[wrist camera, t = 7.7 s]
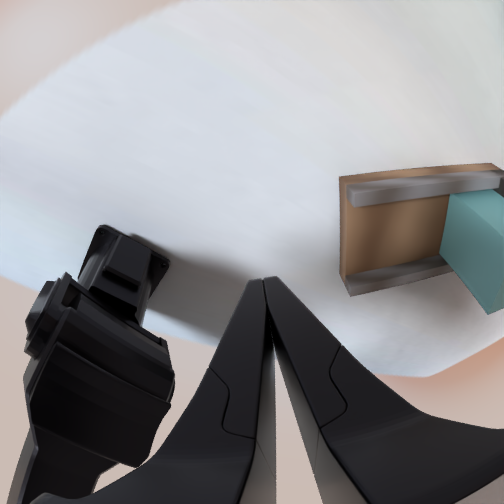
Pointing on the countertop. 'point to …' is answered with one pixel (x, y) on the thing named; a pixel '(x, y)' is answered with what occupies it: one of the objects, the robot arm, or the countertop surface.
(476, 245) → the teal rectangular block
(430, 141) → the countertop surface
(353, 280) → the track
